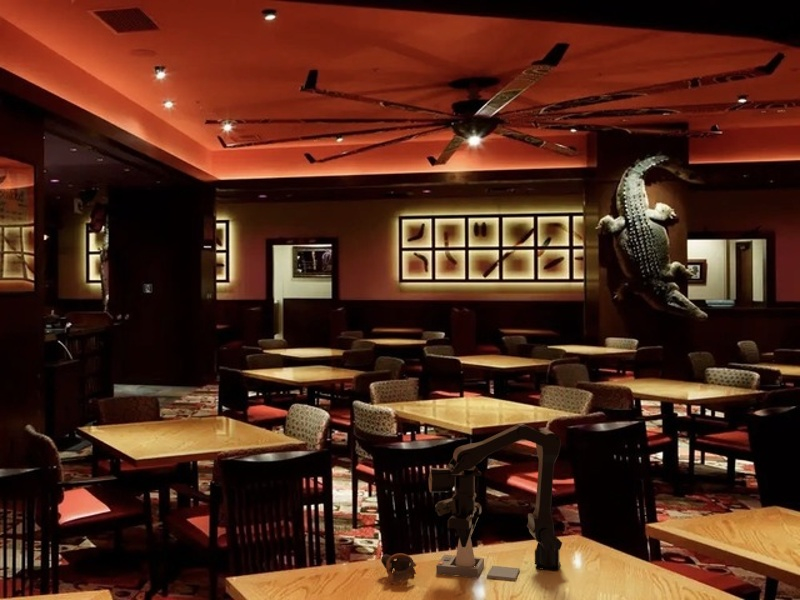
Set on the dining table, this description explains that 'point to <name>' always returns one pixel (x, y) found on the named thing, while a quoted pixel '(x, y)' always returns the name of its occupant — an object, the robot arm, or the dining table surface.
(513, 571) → the slate coaster
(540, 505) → the robot arm
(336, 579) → the dining table surface
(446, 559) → the grey rectangular tray
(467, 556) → the salt shaker
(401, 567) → the pottery mug
